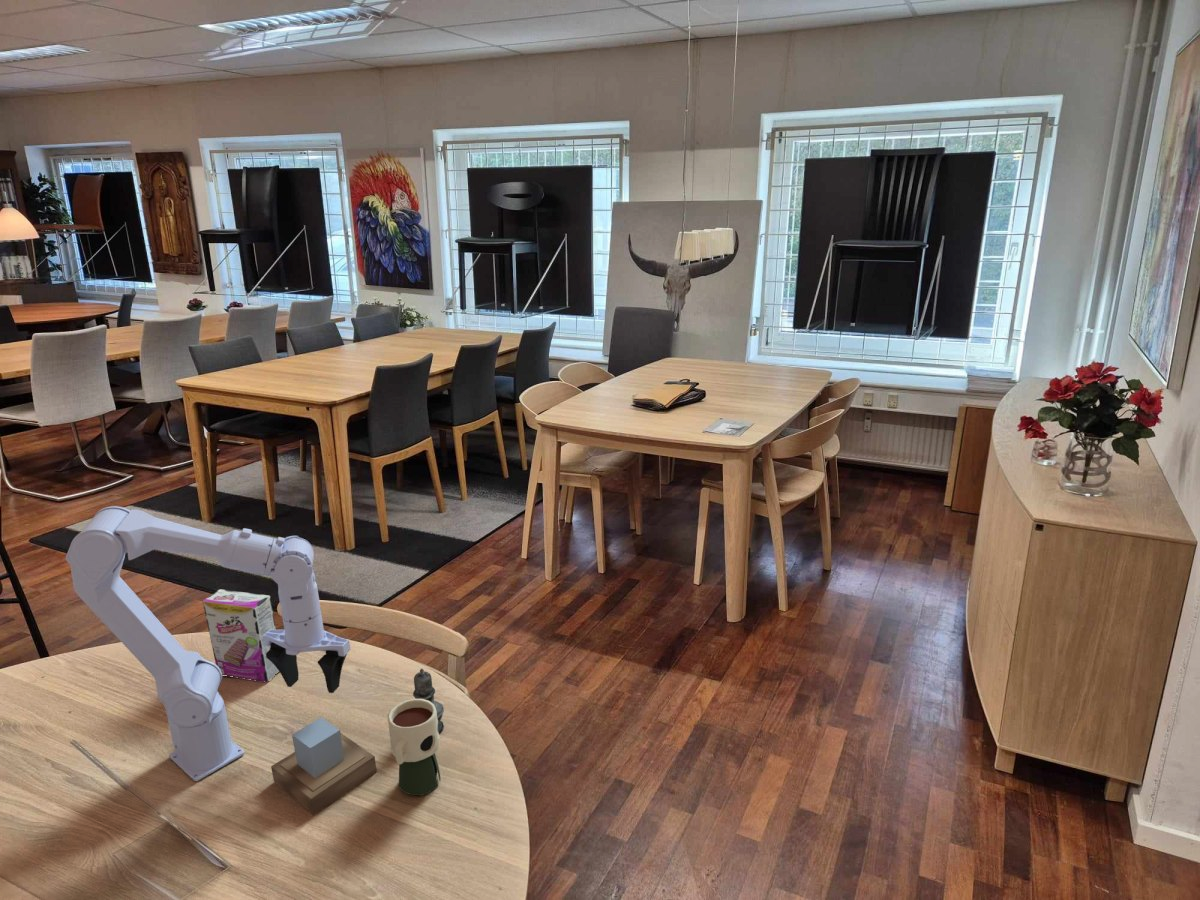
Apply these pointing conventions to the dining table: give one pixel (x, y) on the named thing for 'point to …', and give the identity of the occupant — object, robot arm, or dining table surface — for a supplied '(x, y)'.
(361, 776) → the walnut plinth
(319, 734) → the blue block
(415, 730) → the character mug
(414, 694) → the salt shaker
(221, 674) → the robot arm
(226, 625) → the candy bar box
